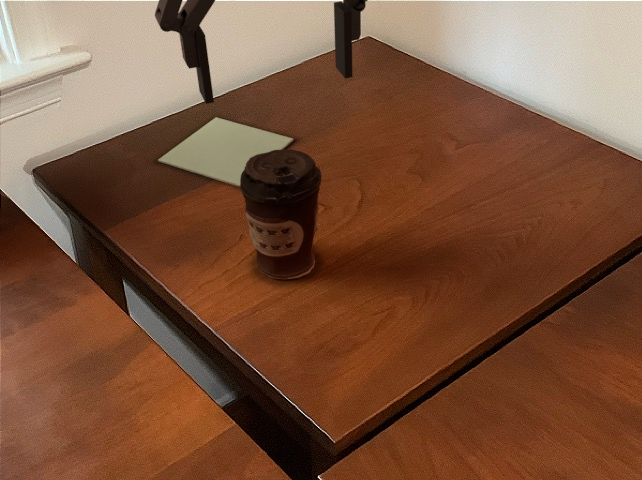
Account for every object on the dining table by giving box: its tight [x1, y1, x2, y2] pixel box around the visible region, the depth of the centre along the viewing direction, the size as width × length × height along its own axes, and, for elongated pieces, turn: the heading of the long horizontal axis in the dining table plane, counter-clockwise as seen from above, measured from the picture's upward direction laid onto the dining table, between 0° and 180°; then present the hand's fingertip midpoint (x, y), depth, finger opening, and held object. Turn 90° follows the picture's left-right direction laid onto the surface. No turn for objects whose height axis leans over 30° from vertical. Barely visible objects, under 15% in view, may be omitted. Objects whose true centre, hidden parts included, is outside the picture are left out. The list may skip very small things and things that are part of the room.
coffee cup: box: [240, 148, 322, 280], centre depth 87 cm, size 9×8×13 cm
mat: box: [157, 116, 294, 187], centre depth 110 cm, size 13×13×1 cm
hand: (276, 84), depth 78 cm, fingers open, 13 cm apart
